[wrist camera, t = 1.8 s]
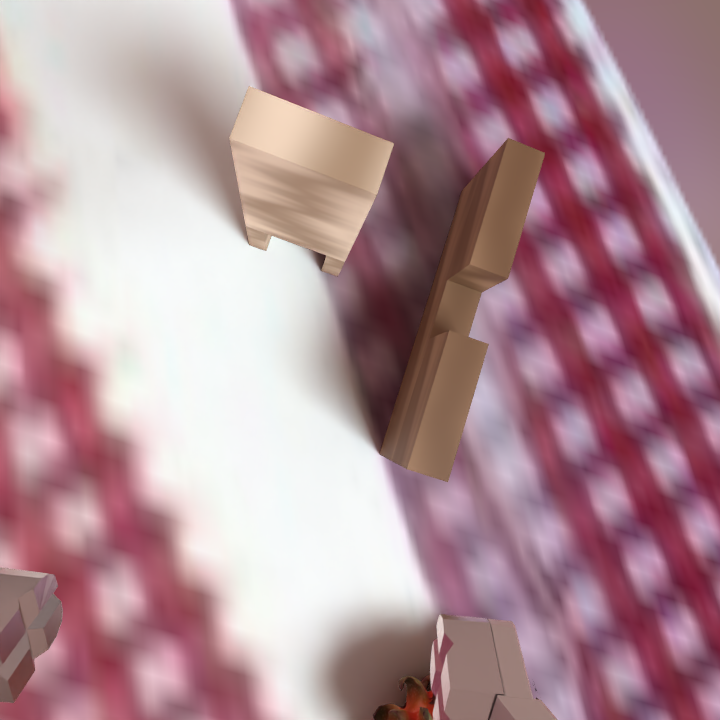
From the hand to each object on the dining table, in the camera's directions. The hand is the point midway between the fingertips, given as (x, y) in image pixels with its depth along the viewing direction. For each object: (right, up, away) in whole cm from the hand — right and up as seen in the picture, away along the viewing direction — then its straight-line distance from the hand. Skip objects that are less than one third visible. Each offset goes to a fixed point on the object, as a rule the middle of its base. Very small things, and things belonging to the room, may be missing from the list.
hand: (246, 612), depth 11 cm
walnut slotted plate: (+8, +8, +27) cm, 29 cm away
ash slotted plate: (-2, +13, +26) cm, 29 cm away
